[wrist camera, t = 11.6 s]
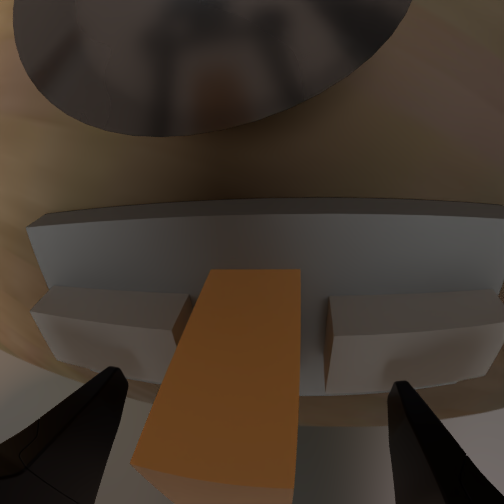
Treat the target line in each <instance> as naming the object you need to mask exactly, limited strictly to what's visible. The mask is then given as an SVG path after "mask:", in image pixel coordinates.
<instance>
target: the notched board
mask: <svg viewBox="0 0 504 504" xmlns="http://www.w3.org/2000/svg"><path fill="white" fill-rule="evenodd" d="M26 230H27V233H28V236H29V239H30V242H31V244H32V247H33V250H34V253H35V256H36V258H37V261H38V263H39V266H40V269H41V271H42V274H43V276H44V278H45V281H46V283H47V286H48V288H49V291H48V292H47V293H46V294H45V295H44V296H43V297H42V298H41V299H40V300H39V301H38V303H37V304H36V305H35V306H34V307H33V308H32V309H31V310H30V313H31V315H32V317H33V319H34V320H35V322H36V324H37V326H38V328H39V330H40V332H41V333H42V335H43V337H44V339H45V340H46V342H47V344H48V346H49V347H50V349H51V351H52V352H53V354H54V356H55V357H56V359H57V360H58V361H62V362H65V363H69V364H73V365H77V366H81V367H85V368H89V369H90V370H91V371H95V372H99V373H100V372H102V371H103V370H104V369H106V368H107V367H109V366H114V367H119V368H120V369H121V370H122V372H123V374H124V376H125V377H126V378H127V379H132V380H138V381H143V382H149V383H155V384H162V381H163V379H164V376H165V374H166V372H167V369H168V367H169V364H170V362H171V360H172V357H173V355H174V353H175V350H176V348H177V345H178V343H179V341H180V338H181V336H182V334H183V331H184V329H185V327H186V324H187V322H188V320H189V318H190V315H191V313H192V311H193V308H194V306H195V304H196V302H197V299H198V297H199V295H200V292H201V290H202V288H203V286H204V283H205V281H206V279H207V277H208V274H209V272H210V270H211V269H300V270H301V342H300V386H299V396H333V395H356V394H372V393H384V392H390V390H391V388H392V386H393V383H394V382H395V381H402V380H406V381H408V382H409V383H410V384H411V386H412V387H413V388H414V389H421V388H428V387H435V386H441V385H447V384H453V383H457V381H461V380H466V379H471V378H476V377H481V376H485V375H486V373H487V372H488V370H489V368H490V366H491V365H492V363H493V361H494V360H495V358H496V356H497V354H498V352H499V351H500V349H501V347H502V345H503V343H504V304H503V303H502V301H501V300H500V298H499V297H498V295H499V292H500V290H501V287H502V284H503V281H504V207H503V206H502V205H494V204H481V203H467V202H452V201H434V200H412V199H382V198H263V199H231V200H208V201H189V202H172V203H157V204H143V205H130V206H118V207H107V208H96V209H86V210H77V211H67V212H59V213H50V214H45V215H43V216H42V217H40V218H39V219H37V220H36V221H35V222H33V223H32V224H30V225H29V226H27V227H26Z"/></svg>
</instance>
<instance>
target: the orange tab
mask: <svg viewBox="0 0 504 504" xmlns="http://www.w3.org/2000/svg"><path fill="white" fill-rule="evenodd" d="M300 342H301V270H300V269H211V270H210V272H209V274H208V277H207V279H206V281H205V283H204V286H203V288H202V290H201V292H200V295H199V297H198V299H197V302H196V304H195V306H194V308H193V311H192V313H191V315H190V318H189V320H188V322H187V324H186V327H185V329H184V331H183V334H182V336H181V338H180V341H179V343H178V345H177V348H176V350H175V353H174V355H173V357H172V360H171V362H170V364H169V367H168V369H167V372H166V374H165V376H164V379H163V381H162V384H161V386H160V389H159V391H158V393H157V396H156V398H155V401H154V403H153V406H152V408H151V411H150V413H149V416H148V418H147V421H146V423H145V426H144V428H143V431H142V433H141V436H140V438H139V441H138V444H137V446H136V449H135V451H134V454H133V457H132V459H131V462H130V464H131V465H132V466H133V467H134V468H135V469H136V470H137V471H138V472H139V473H140V474H141V475H142V476H143V477H144V478H145V479H147V480H148V481H149V482H150V483H151V484H152V485H153V486H154V487H155V488H157V489H158V490H159V491H160V492H161V493H162V494H164V495H165V496H166V497H167V498H168V499H170V500H171V501H172V502H173V503H175V504H292V499H293V491H294V481H295V467H296V450H297V434H298V413H299V386H300Z"/></svg>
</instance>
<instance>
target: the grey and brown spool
mask: <svg viewBox="0 0 504 504" xmlns="http://www.w3.org/2000/svg"><path fill="white" fill-rule="evenodd" d="M411 1H412V0H14V7H13V28H14V36H15V43H16V46H17V50H18V53H19V57H20V60H21V62H22V64H23V66H24V68H25V70H26V72H27V74H28V76H29V78H30V79H31V80H32V82H33V83H34V85H35V86H36V88H37V89H38V90H39V91H40V92H41V93H42V94H43V95H44V96H45V97H46V98H47V99H48V100H49V101H50V102H51V103H52V104H53V105H55V106H56V107H57V108H59V109H60V110H61V111H63V112H64V113H66V114H67V115H69V116H71V117H73V118H75V119H77V120H79V121H81V122H83V123H85V124H87V125H91V126H94V127H97V128H100V129H103V130H106V131H110V132H116V133H121V134H127V135H132V136H151V137H169V136H185V135H195V134H201V133H207V132H213V131H219V130H224V129H228V128H231V127H235V126H239V125H242V124H246V123H250V122H254V121H257V120H260V119H262V118H265V117H268V116H270V115H273V114H276V113H278V112H281V111H284V110H287V109H289V108H291V107H293V106H295V105H297V104H299V103H301V102H303V101H305V100H307V99H309V98H311V97H313V96H316V95H318V94H320V93H321V92H323V91H324V90H326V89H328V88H329V87H331V86H332V85H334V84H335V83H337V82H339V81H340V80H342V79H343V78H345V77H347V76H348V75H349V74H351V73H352V72H353V71H354V70H355V69H357V68H358V67H359V66H360V65H362V64H363V63H364V62H365V61H367V60H368V59H369V58H370V57H372V56H373V55H374V53H375V52H376V51H377V50H378V49H379V48H380V47H381V46H382V45H383V44H384V43H385V42H386V41H387V40H388V39H389V37H390V36H391V35H392V34H393V32H394V31H395V29H396V28H397V26H398V25H399V23H400V22H401V20H402V19H403V17H404V16H405V14H406V12H407V10H408V8H409V6H410V3H411Z"/></svg>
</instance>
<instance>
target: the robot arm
mask: <svg viewBox="0 0 504 504" xmlns="http://www.w3.org/2000/svg"><path fill="white" fill-rule="evenodd" d="M127 391H128V381H127V379H126V377H125V376H124V374H123V372H122V370H121V369H120V368H119V367H114V366H109V367H107V368H106V369H104V370H103V371H102V372H100V373H99V374H98V375H96V376H95V377H94V378H92V379H91V380H90V381H88V382H87V383H86V384H84V385H83V386H82V387H81V388H79V389H78V390H76V391H75V392H74V393H72V394H71V395H70V396H68V397H67V398H66V399H64V400H63V401H62V402H60V403H59V404H58V405H56V406H55V407H54V408H52V409H51V410H50V411H48V412H47V413H46V414H44V415H43V416H42V417H40V419H38V420H36V421H35V422H34V423H32V424H31V425H30V426H28V427H27V428H25V429H24V430H22V431H21V432H19V433H18V434H16V435H14V436H13V437H11V438H9V439H8V440H6V441H4V442H3V443H1V444H0V504H94V503H95V499H96V496H97V492H98V489H99V486H100V482H101V479H102V476H103V473H104V469H105V466H106V463H107V460H108V457H109V454H110V451H111V448H112V444H113V442H114V439H115V436H116V433H117V430H118V427H119V424H120V420H121V416H122V412H123V407H124V403H125V399H126V395H127ZM387 404H388V428H389V448H390V454H391V463H392V472H393V480H394V490H395V501H396V504H504V496H503V495H502V494H501V493H500V492H499V491H498V490H497V489H496V488H495V487H494V486H493V485H492V484H491V483H490V482H489V481H488V480H487V479H486V477H485V476H484V475H483V474H482V473H481V472H480V471H479V469H478V468H477V467H476V466H475V465H474V463H473V462H472V461H471V459H470V458H469V457H468V456H466V453H465V452H464V451H463V449H462V448H461V447H460V445H459V444H458V443H457V442H456V440H455V439H454V438H453V436H452V435H451V434H450V433H449V431H448V430H447V429H446V428H445V426H444V425H443V424H442V423H441V421H440V420H439V419H438V418H437V416H436V415H435V414H434V413H433V411H432V410H431V409H430V408H429V406H428V405H427V404H426V403H425V401H424V400H423V399H422V398H421V397H420V395H419V394H418V393H417V392H416V391H415V389H414V388H413V387H412V386H411V384H410V383H409V382H408V381H406V380H402V381H395V382H394V383H393V386H392V388H391V390H390V393H389V395H388V400H387Z"/></svg>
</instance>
